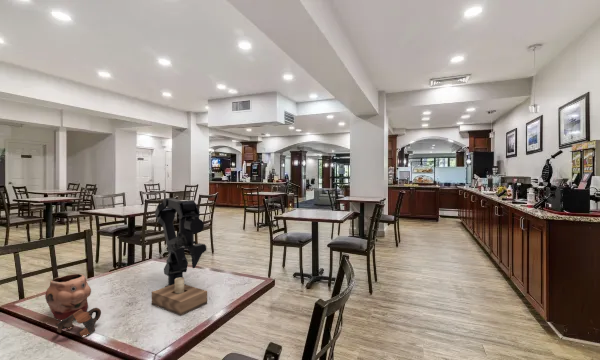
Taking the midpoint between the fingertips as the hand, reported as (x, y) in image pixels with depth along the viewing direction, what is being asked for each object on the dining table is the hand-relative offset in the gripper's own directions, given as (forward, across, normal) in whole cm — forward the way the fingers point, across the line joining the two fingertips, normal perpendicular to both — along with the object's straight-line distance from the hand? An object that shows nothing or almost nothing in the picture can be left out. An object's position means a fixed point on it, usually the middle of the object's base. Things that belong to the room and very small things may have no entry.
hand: (186, 266), depth 126 cm
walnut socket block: (+12, +6, -8) cm, 16 cm away
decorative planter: (+12, -21, -35) cm, 43 cm away
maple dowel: (+11, +6, -8) cm, 15 cm away
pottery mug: (+12, -3, -38) cm, 40 cm away
